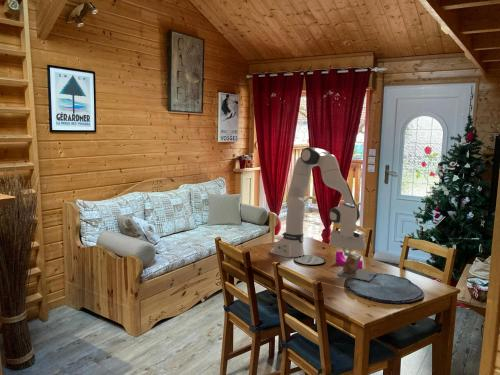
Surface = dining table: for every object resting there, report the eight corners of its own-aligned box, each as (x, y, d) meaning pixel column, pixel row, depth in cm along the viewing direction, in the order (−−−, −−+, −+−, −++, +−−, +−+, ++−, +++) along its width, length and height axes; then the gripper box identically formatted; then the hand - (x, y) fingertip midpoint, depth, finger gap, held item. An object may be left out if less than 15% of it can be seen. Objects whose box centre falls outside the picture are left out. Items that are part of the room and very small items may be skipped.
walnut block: (342, 270, 231) (348, 254, 228) (348, 266, 238) (353, 250, 236) (350, 274, 228) (356, 258, 226) (356, 270, 236) (361, 254, 233)
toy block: (362, 268, 243) (362, 255, 242) (355, 270, 239) (356, 257, 238) (341, 261, 255) (342, 250, 254) (335, 263, 251) (336, 251, 250)
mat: (337, 275, 229) (337, 273, 229) (347, 268, 242) (347, 266, 242) (369, 282, 219) (369, 280, 219) (377, 274, 232) (377, 272, 232)
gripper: (328, 230, 235) (327, 254, 236) (363, 235, 223) (362, 260, 225) (332, 228, 240) (331, 251, 241) (367, 233, 229) (366, 257, 230)
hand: (347, 255), depth 233 cm, fingers closed
